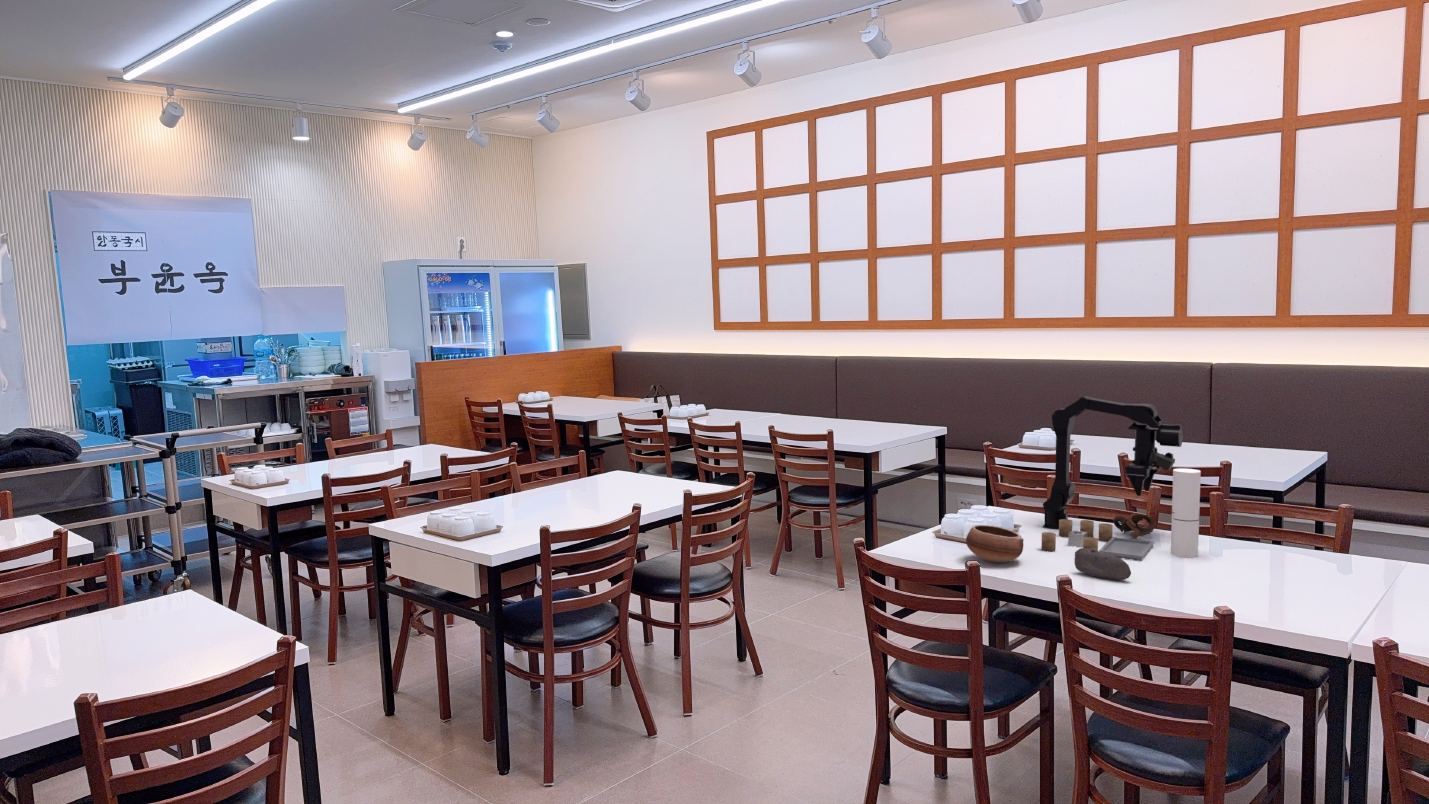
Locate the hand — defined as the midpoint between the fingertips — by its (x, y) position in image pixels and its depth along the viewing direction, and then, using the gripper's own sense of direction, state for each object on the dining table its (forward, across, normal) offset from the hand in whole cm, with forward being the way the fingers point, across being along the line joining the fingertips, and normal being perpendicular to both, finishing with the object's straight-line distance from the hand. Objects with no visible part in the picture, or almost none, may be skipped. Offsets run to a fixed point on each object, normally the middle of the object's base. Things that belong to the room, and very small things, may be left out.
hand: (1142, 493), depth 291 cm
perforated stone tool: (+14, -51, -4) cm, 53 cm away
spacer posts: (+14, -21, +13) cm, 28 cm away
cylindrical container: (+14, -14, -16) cm, 25 cm away
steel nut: (+14, -21, +13) cm, 28 cm away
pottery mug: (+15, +2, +3) cm, 15 cm away
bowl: (+15, -53, +26) cm, 61 cm away
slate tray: (+14, -19, -1) cm, 24 cm away
